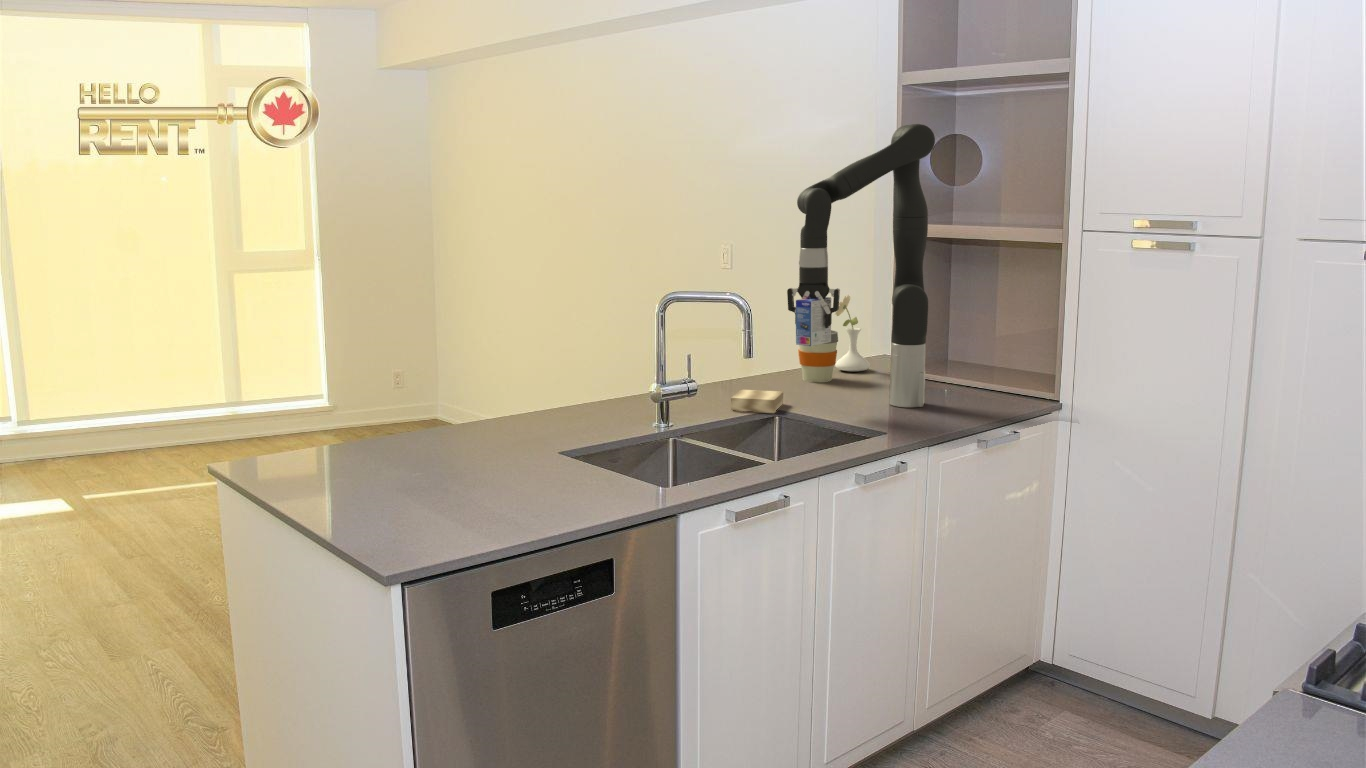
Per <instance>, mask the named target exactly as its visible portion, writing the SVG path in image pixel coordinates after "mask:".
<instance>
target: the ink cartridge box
mask: <svg viewBox="0 0 1366 768" xmlns="http://www.w3.org/2000/svg"><path fill="white" fill-rule="evenodd" d="M808 298H809V299H802V298H799V299H795V307H796V324H795V344H796V345H798V346H799V345H803V346H814V345H819V344H823V343H828V342H831V330H832V325H831V326H829V328H825V314H826V312H825V310H824V308H823V307H822V305H821V304H820V300H819V299H815V298H812V299H811V298H810V296H808ZM824 301H825V302H826V301H827V302H828V304H829V306H830V308H832V296H831V297H829V296H826V297H825V298H824Z"/></svg>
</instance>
